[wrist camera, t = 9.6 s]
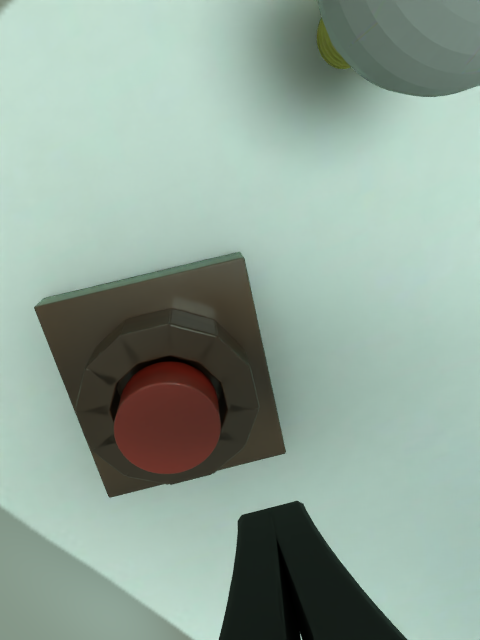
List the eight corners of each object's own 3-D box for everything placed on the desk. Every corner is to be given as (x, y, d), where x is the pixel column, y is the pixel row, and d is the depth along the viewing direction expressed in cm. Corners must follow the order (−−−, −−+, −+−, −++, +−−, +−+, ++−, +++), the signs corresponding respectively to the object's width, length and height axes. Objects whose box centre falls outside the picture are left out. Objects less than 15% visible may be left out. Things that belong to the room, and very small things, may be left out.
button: (227, 432, 17) (230, 460, 16) (136, 455, 17) (131, 485, 16) (205, 350, 16) (207, 370, 15) (108, 374, 16) (98, 397, 14)
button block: (281, 438, 21) (295, 480, 18) (112, 480, 21) (101, 530, 18) (240, 251, 18) (250, 267, 15) (42, 298, 18) (14, 323, 15)
